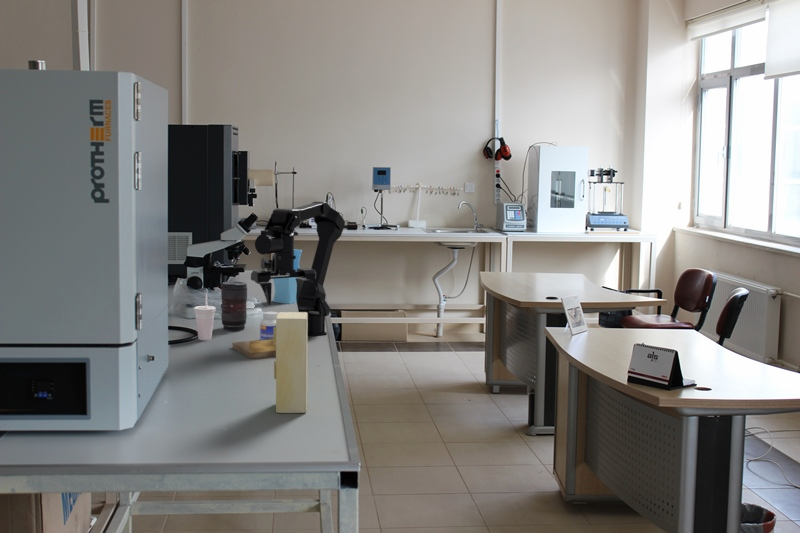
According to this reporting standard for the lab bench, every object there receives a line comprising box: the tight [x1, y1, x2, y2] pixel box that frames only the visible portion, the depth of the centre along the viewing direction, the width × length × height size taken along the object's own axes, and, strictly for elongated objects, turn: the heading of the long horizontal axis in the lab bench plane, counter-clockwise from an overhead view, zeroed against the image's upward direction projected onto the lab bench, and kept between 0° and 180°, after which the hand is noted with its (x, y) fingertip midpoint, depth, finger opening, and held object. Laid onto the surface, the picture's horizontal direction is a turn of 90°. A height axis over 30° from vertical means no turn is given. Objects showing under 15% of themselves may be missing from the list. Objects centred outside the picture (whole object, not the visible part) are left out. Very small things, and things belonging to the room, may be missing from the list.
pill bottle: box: [259, 310, 278, 341], centre depth 226 cm, size 5×5×10 cm
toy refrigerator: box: [273, 311, 308, 414], centre depth 175 cm, size 8×7×21 cm
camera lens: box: [220, 281, 248, 332], centre depth 255 cm, size 8×8×15 cm
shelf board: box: [232, 339, 276, 359], centre depth 228 cm, size 15×14×4 cm
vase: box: [272, 248, 303, 305], centre depth 306 cm, size 8×8×20 cm
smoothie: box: [193, 292, 217, 341], centre depth 240 cm, size 6×6×14 cm
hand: (283, 303), depth 236 cm, fingers open, 9 cm apart
